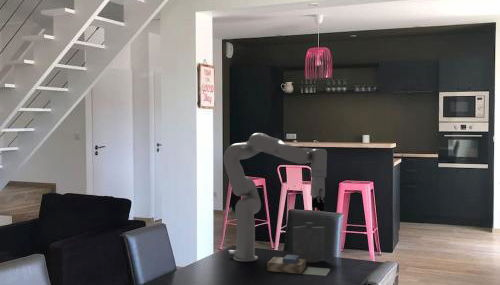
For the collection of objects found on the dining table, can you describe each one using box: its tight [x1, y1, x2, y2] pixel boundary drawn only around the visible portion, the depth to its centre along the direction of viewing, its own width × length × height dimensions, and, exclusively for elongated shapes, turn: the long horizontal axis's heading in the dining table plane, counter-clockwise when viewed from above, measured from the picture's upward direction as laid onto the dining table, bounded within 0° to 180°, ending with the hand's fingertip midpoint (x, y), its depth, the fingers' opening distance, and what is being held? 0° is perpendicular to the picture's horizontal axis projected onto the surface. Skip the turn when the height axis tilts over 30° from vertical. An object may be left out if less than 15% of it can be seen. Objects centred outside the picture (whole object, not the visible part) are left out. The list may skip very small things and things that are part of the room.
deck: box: [266, 256, 307, 275], centre depth 258 cm, size 16×12×4 cm
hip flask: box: [292, 221, 326, 263], centre depth 274 cm, size 16×4×20 cm, turn 94°
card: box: [282, 254, 299, 264], centre depth 258 cm, size 6×9×2 cm, turn 163°
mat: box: [301, 266, 331, 277], centre depth 254 cm, size 11×13×1 cm
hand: (317, 209), depth 263 cm, fingers open, 9 cm apart
